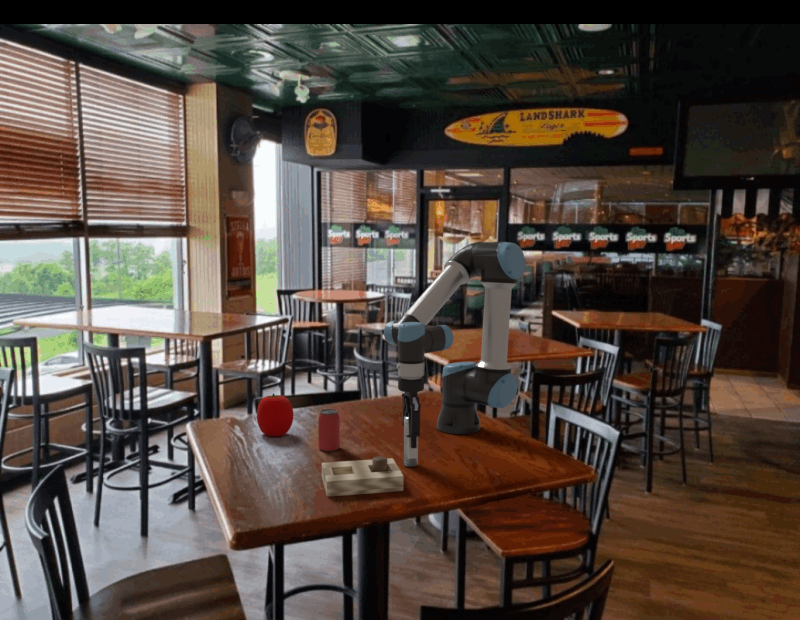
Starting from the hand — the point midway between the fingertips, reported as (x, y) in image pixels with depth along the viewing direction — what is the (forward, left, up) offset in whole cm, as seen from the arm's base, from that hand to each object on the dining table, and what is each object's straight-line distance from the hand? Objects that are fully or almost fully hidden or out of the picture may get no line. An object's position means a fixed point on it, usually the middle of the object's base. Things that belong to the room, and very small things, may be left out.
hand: (410, 455), depth 188 cm
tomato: (+38, -37, -3) cm, 53 cm away
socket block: (+16, +11, -3) cm, 20 cm away
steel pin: (0, 0, -3) cm, 3 cm away
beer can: (+22, -19, -3) cm, 29 cm away
